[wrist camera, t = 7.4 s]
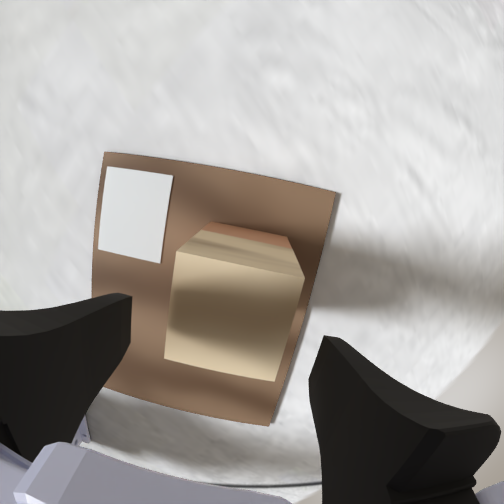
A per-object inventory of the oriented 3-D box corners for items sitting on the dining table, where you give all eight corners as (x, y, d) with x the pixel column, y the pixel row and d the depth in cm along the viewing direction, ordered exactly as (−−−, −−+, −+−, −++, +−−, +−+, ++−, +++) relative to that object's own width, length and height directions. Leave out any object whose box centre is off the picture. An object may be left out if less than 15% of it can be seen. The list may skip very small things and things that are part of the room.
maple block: (271, 330, 18) (274, 381, 13) (187, 312, 18) (164, 358, 13) (292, 248, 17) (304, 278, 12) (201, 229, 16) (176, 250, 12)
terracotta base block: (270, 307, 21) (271, 330, 18) (199, 292, 21) (188, 313, 18) (286, 236, 20) (292, 248, 17) (210, 221, 20) (200, 230, 16)
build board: (268, 423, 24) (268, 427, 24) (97, 381, 24) (95, 384, 23) (334, 192, 20) (336, 192, 19) (106, 152, 19) (103, 151, 19)
